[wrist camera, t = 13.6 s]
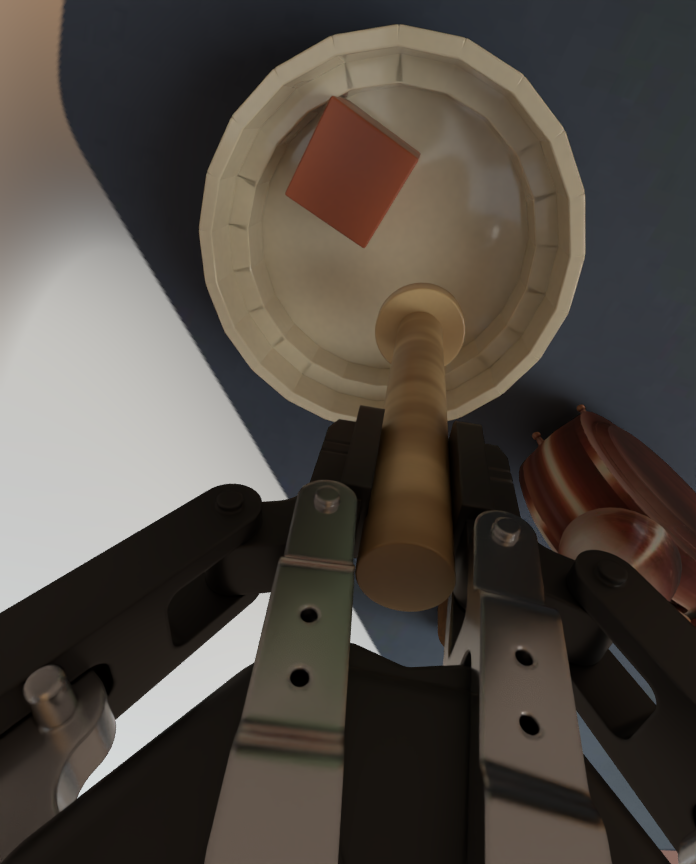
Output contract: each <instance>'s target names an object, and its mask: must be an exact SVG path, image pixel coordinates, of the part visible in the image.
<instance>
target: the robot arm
mask: <svg viewBox="0 0 696 864" xmlns="http://www.w3.org/2000/svg"><path fill="white" fill-rule="evenodd" d="M384 413H385V409H382V408H376V407H370V406H364V405H360V407H359V411H358V415H357V419H356V422H355V421H349V420H343V419H338V420H337V421H336V422H335V423H333V424H332V425H331V426H330V427H328V430H327V433H326V436H325V440H324V442H323V445H322V449H321V451H320V454H319V457H318V460H317V463H316V466H315V469H314V472H313V475H312V478H311V480H310V483H308V484H306V485H305V486H303V487H302V488H301V489H300V491H299V492H298V495H297V496H296V497H293V498H291V499H287V500H282V501H269V502H262V500H261V497H260V495H259V494H258V493H257V492H256V491H255V490H253V489H252V488H250V487H247V486H244V485H240V484H224V485H220V486H217V487H214V488H212V489H210V490H208V491H206V492H205V493H203V494H201V495H200V496H198V497H196V498H194V499H193V500H191V501H189V502H188V503H186V504H184V505H183V506H181V507H179V508H177V509H176V510H174V511H172V512H171V513H169V514H167V515H166V516H164V517H162V518H161V519H159V520H157V521H155V522H154V523H152V524H150V525H149V526H147V527H145V528H144V529H142V530H141V531H138V532H137V533H135V534H133V535H132V536H130V537H128V538H127V539H125V540H123V541H122V542H120V543H118V544H116V545H115V546H113V547H111V548H110V549H108V550H106V551H105V552H103V553H101V554H100V555H98V556H96V557H94V558H93V559H91V560H89V561H88V562H86V563H84V564H83V565H81V566H79V567H78V568H76V569H74V570H72V571H71V572H69V573H67V574H66V575H64V576H62V577H60V578H59V579H57V580H55V581H54V582H52V583H50V584H49V585H47V586H45V587H44V588H42V589H40V590H38V591H37V592H36V593H33V594H32V595H30V596H28V597H27V598H25V599H23V600H22V601H20V602H18V603H16V604H15V605H13V606H11V607H10V608H8V609H6V610H5V611H3V612H1V613H0V864H671V863H670V862H669V861H668V860H667V858H666V857H665V856H664V855H663V853H662V852H661V851H660V849H659V848H658V847H657V846H656V844H655V843H654V842H653V841H652V839H651V838H650V837H649V836H648V834H647V833H646V832H645V831H644V829H643V828H642V827H641V826H640V824H639V823H638V822H637V821H636V819H635V818H634V817H633V816H632V814H631V813H630V812H629V811H628V809H627V808H626V807H625V806H624V804H623V803H622V802H621V801H620V799H619V798H618V797H617V796H616V794H615V793H614V792H613V790H612V789H611V788H610V787H609V785H608V784H607V783H606V782H605V780H604V779H603V778H602V777H601V775H600V774H599V773H598V772H597V770H596V769H595V768H594V767H593V765H592V764H591V763H590V762H589V760H588V759H587V758H586V757H585V755H584V754H583V751H582V745H581V739H580V732H579V726H578V720H577V713H576V711H577V712H578V713H579V715H580V716H581V718H582V719H583V720H584V722H585V723H586V725H587V726H588V727H589V729H590V730H591V732H592V733H593V734H594V736H595V737H596V739H597V740H598V741H599V743H600V744H601V746H602V747H603V748H604V750H605V751H606V753H607V754H608V755H609V757H610V758H611V760H612V761H613V762H614V764H615V765H616V767H617V768H618V769H619V771H620V772H621V774H622V775H623V777H624V778H625V779H626V781H627V782H628V784H629V785H630V786H631V788H632V789H633V791H634V792H635V793H636V795H637V796H638V798H639V799H640V800H641V802H642V803H643V805H644V806H645V807H646V809H647V810H648V812H649V813H650V814H651V816H652V817H653V819H654V820H655V821H656V823H657V824H658V826H659V827H660V828H661V830H662V831H663V833H664V834H665V836H666V837H667V838H668V840H669V841H670V843H671V844H672V845H673V847H674V848H675V850H676V851H677V852H678V861H679V864H696V627H695V626H694V625H693V624H692V623H691V622H690V621H689V620H688V619H687V618H686V617H685V616H683V615H682V614H681V613H680V612H679V611H678V610H677V609H676V608H675V607H674V606H673V605H672V604H671V603H670V602H669V601H668V600H667V599H666V598H665V597H664V596H663V595H662V594H661V593H660V592H659V591H657V590H656V589H655V588H654V587H653V586H652V585H651V584H650V583H649V582H648V581H647V580H646V579H645V578H644V577H643V576H642V575H641V574H640V573H639V572H638V571H637V570H636V569H635V568H634V567H632V566H631V565H630V564H629V563H627V562H626V561H625V560H623V559H621V558H620V557H618V556H616V555H614V554H611V553H608V552H605V551H601V550H586V551H583V552H581V553H580V554H579V555H578V556H577V557H576V559H575V560H573V559H571V558H568V557H566V556H564V555H561V554H559V553H556V552H554V551H552V550H550V549H548V548H546V547H544V546H542V545H541V544H539V543H538V541H537V536H536V533H535V531H534V530H533V528H532V527H531V526H530V525H529V524H528V523H527V522H526V521H525V520H523V519H522V518H521V517H520V512H519V508H518V503H517V498H516V494H515V489H514V485H513V483H512V481H513V480H512V476H511V473H510V466H509V462H508V458H507V457H506V455H505V454H504V453H503V452H502V450H501V449H500V448H499V447H498V446H497V445H491V444H485V442H484V436H483V429H482V426H481V425H477V424H471V423H465V422H459V421H455V422H454V423H453V426H452V430H451V433H450V437H449V441H448V443H449V461H450V479H451V497H452V515H453V533H454V551H455V569H456V583H455V587H454V590H453V592H452V593H451V595H450V596H449V598H448V605H447V618H446V632H445V645H444V658H443V666H427V667H405V666H402V665H400V664H397V663H395V662H393V661H391V660H389V659H387V658H385V657H382V656H380V655H378V654H376V653H374V652H371V651H369V650H367V649H365V648H363V647H360V646H358V645H356V644H353V643H350V635H351V620H352V604H353V588H354V572H355V565H353V558H357V557H358V552H359V546H360V540H361V534H362V529H363V524H364V520H365V518H366V516H367V514H368V509H369V503H370V497H371V491H372V485H373V479H374V473H375V467H376V461H377V455H378V449H379V443H380V437H381V431H382V425H383V419H384ZM267 592H271V595H270V599H269V603H268V607H267V612H266V616H265V620H264V624H263V628H262V633H261V637H260V641H259V646H258V650H257V654H256V658H255V662H254V663H253V664H251V665H249V666H248V667H246V668H244V669H243V670H242V671H240V672H239V673H238V674H236V675H235V676H234V677H232V678H231V679H230V680H228V681H227V682H226V683H225V684H223V685H222V686H221V687H220V688H218V689H217V690H216V691H215V692H213V693H212V694H210V695H209V696H208V697H207V698H205V699H204V700H203V701H202V702H200V703H199V704H198V705H196V706H195V707H194V708H193V709H191V710H190V711H189V712H187V713H186V714H185V715H184V716H182V717H181V718H180V719H178V720H177V721H176V722H175V723H173V724H172V725H171V726H170V727H168V728H167V729H166V730H164V731H163V732H162V733H161V734H159V735H158V736H157V737H155V738H154V739H153V740H152V741H151V742H149V743H148V744H147V745H145V746H144V747H143V748H141V749H140V750H139V751H137V752H136V753H135V754H134V755H132V756H131V757H130V758H129V759H127V760H126V761H125V762H123V764H121V765H120V766H118V767H117V768H116V769H114V770H113V771H112V772H111V773H110V774H108V775H107V776H106V777H104V778H103V779H102V780H100V781H99V782H98V783H96V784H95V785H94V786H93V787H91V788H90V789H89V790H88V791H86V792H85V793H84V794H82V795H81V796H80V797H79V798H77V797H78V794H79V792H80V790H81V788H82V787H83V785H84V783H85V782H86V780H87V779H88V777H89V776H90V775H91V774H92V773H93V771H94V770H95V769H96V768H97V767H98V766H99V765H100V763H101V762H102V761H103V760H104V758H105V757H106V756H107V754H108V752H109V750H110V749H111V747H112V744H113V741H114V738H115V733H116V722H115V720H116V719H117V718H118V717H119V716H120V715H121V714H123V713H124V712H125V711H126V710H127V709H128V708H130V707H131V706H132V705H133V704H134V703H135V702H137V701H138V700H139V699H140V698H141V697H142V696H144V694H146V693H147V692H148V691H149V690H151V689H152V688H153V687H154V686H155V685H156V684H157V683H159V682H160V681H161V680H162V679H163V678H165V677H166V676H167V675H168V674H169V673H170V672H172V671H173V670H174V669H175V668H176V667H177V666H179V665H180V664H181V663H182V662H183V661H184V660H185V659H187V658H188V657H189V656H190V655H191V654H193V653H194V652H195V651H196V650H197V649H198V648H200V647H201V646H202V645H203V644H204V643H205V642H207V641H208V640H209V639H210V638H211V637H212V636H214V635H215V634H216V633H217V632H218V631H219V630H220V629H222V628H223V627H224V626H225V625H226V624H227V623H229V622H230V621H231V620H232V619H233V618H234V617H236V616H237V615H238V614H239V613H240V612H241V611H243V610H244V609H245V608H246V607H247V606H248V605H249V604H251V603H252V602H253V601H254V600H255V599H256V598H257V596H258V595H259V593H267ZM612 643H614V644H615V645H616V647H617V648H618V649H619V650H620V651H621V652H622V654H623V655H624V656H625V657H626V658H627V659H628V660H629V662H630V663H631V664H632V665H633V666H634V667H635V669H636V670H637V671H638V672H639V673H640V674H641V676H642V677H643V678H644V679H645V680H646V681H647V683H648V684H649V685H650V687H651V688H652V690H653V692H654V695H655V698H656V705H655V703H654V702H653V701H652V700H651V699H650V698H649V696H648V695H647V694H646V693H645V692H644V690H643V689H642V688H641V687H640V686H639V685H638V683H637V682H636V681H635V680H634V679H633V677H632V676H631V675H630V674H629V673H628V672H627V670H626V669H625V668H624V667H623V666H622V664H621V663H620V662H619V661H618V660H617V659H616V657H615V656H614V655H613V654H612V653H611V651H610V650H609V649H608V648H609V647H610V646H611V644H612Z"/></svg>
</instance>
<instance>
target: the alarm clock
mask: <svg viewBox="0 0 696 864" xmlns="http://www.w3.org/2000/svg"><path fill="white" fill-rule="evenodd" d="M576 409H577V411H578V412H580V413H581V414H580V415H578V416H577V417H576V418H574V419H573V420H571V421H570V422H568V423H567V424H565V425H564V426H562V427H561V428H559V429H557V430H556V431H555V432H553V433H552V434H551V435H550V436H549V437H548V438H547V439H545V440H543V439H542V438H541V434H540V433H539V432H534V433H533V435H532V437H533V439H535V440H537V443H538V445H539V447H538V448H537V449H536V450H535V451H534V452H533V453H532V454H531V455H530V456H529V457H528V458H527V459H526V460H525V461H524V462H523V464H522V465H521V467H520V470H519V482H520V486H521V489H522V493H523V496H524V499H525V501H526V504H527V507H528V509H529V511H530V514H531V516H532V518H533V520H534V522H535V524H536V526H537V527H538V529H539V531H540V533H541V534H542V536H543V537H544V539H545V540H546V542H547V543H548V545H549V546H550V548H551V549H552V551H554V552H556V553H559V554H561V555H564V556H566V557H568V558H571V559H573V560H575V559H576V557H577V556H578V555H579V554H580V553H581V552H583V551H586V550H601V551H605V552H608V553H611V554H614V555H616V556H618V557H620V558H621V559H623V560H625V561H626V562H627V563H629V564H630V565H631V566H632V567H634V568H635V569H636V570H637V571H638V572H639V573H640V574H641V575H642V576H643V577H644V578H645V579H646V580H647V581H648V582H649V583H650V584H651V585H652V586H653V587H654V588H655V589H656V590H657V591H659V592H660V593H661V594H662V595H663V596H664V597H665V598H666V599H667V600H668V601H669V602H670V603H671V604H672V605H673V606H674V607H675V608H676V609H677V610H678V611H679V612H680V613H681V614H682V615H683V616H685V617H686V618H687V619H688V620H689V621H690V622H691V623H692V624H693V625H694V626H695V627H696V493H695V492H694V491H693V489H692V488H691V487H690V486H689V485H688V484H687V483H686V482H685V481H684V480H683V479H682V478H681V477H680V476H679V475H678V474H677V473H676V472H675V471H674V470H673V469H672V468H671V467H670V466H669V465H668V464H667V463H665V462H664V461H663V460H662V459H661V458H660V457H659V456H658V455H657V454H656V453H654V452H653V451H652V450H651V449H650V448H648V447H647V446H646V445H645V444H644V443H642V442H641V441H640V440H638V439H637V438H636V437H634V436H633V435H631V434H630V433H628V432H627V431H625V430H623V429H621V428H619V427H618V426H616V425H615V424H613V423H612V422H610V421H609V420H607V419H605V418H604V417H602V416H600V415H597V414H595V413H593V412H588V411H586V410H585V409H586V408H585V406H584V405H578V406H577V408H576Z"/></svg>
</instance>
